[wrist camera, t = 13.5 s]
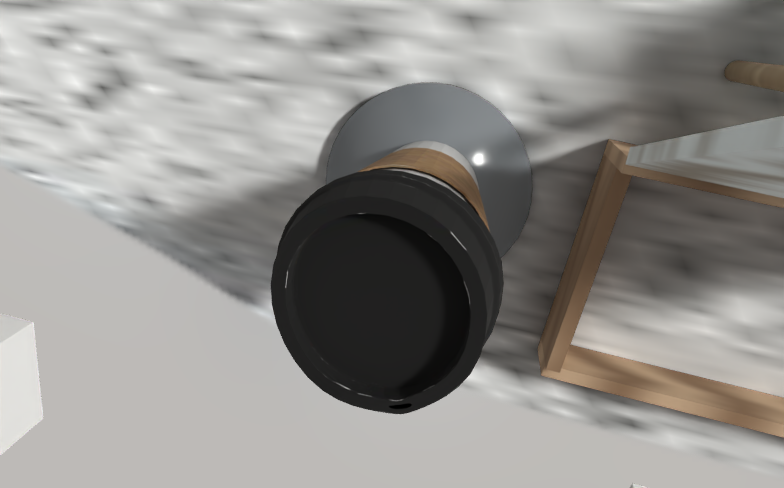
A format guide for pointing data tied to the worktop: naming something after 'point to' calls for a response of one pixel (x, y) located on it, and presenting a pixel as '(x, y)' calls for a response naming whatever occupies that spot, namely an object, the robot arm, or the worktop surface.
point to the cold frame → (619, 162)
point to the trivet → (451, 127)
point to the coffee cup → (390, 280)
